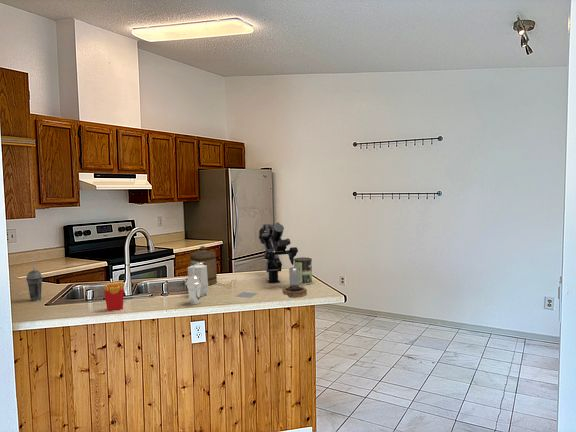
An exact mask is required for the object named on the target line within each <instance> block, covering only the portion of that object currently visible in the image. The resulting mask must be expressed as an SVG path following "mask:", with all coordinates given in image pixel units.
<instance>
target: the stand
mask: <svg viewBox="0 0 576 432" xmlns="http://www.w3.org/2000/svg"><path fill="white" fill-rule="evenodd" d="M258 294H259V293H257V292H247V291H246V292H245V291H243V292H241V293H240V292H239V294H236V295H235V296H234V297H235V298H237V297H238V298H244V299H245V298H246V299H247V298H249V299H251V298H253V297H255V296H256V295H258Z"/></svg>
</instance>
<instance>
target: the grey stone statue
mask: <svg viewBox="0 0 576 432" xmlns="http://www.w3.org/2000/svg"><path fill="white" fill-rule="evenodd" d="M203 263H204V262H201V263H198V264H195V265H193V275H192V276H190V277H189V278H188V277H187V280H186V281H185V285H186V287H187V291H188V297H189V304H190V303H191V304H190V305H198V304H200V299H201V297H200V291H201V284H203V281H201V279H200V277H199V276H196V275H195V274H194V266H196V265H199V264H203Z"/></svg>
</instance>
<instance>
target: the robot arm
mask: <svg viewBox="0 0 576 432" xmlns="http://www.w3.org/2000/svg"><path fill="white" fill-rule="evenodd" d="M284 229H285V226H284V225H283V224H280V222H275V224H270V223H265V224H262V227H261V228H260V229H259V230H258V234H257V236H258V240H259V242H260V244H263V246H264V248H265V249H264V250H265V251H264V253H263V258H264V260H266V261H267V262H266V264H265V268H264V269H265V273H268V279H267V282H268V283H269V284H274V283H280V282H281V281H280V279H279V272H282V266H283V262H282V261H281V260H280V259H281V258H280V256H282V255H284V256H285V255H288V259H289V261H290V264H291V265H292V266H294V259H295V257H296V256H297V254H298V252H299V250H298V247H297V246H294V247H290V248H289V249H288V250H286V249H287V246H289V245H291V240H290V238H285V239H282V236H283V233H284Z"/></svg>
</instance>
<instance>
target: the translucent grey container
mask: <svg viewBox="0 0 576 432" xmlns="http://www.w3.org/2000/svg"><path fill="white" fill-rule="evenodd" d="M206 248H207V247H206V246H203V245H201V246H200V247H199V250H198V251H194V252H190V254H189V257H190V258H189V259H190V266H193V265H195V264H198V263H201V262H204V263H203V264H199V265H207V278H208V287H209V286H213V285H216V284H217V283H218V278H217V277H218V274H217V260H216V254H217V253H216V251H214V250H213V251H212V250H206Z"/></svg>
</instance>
